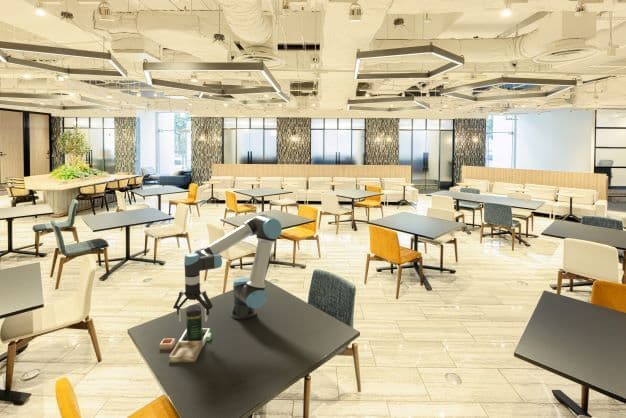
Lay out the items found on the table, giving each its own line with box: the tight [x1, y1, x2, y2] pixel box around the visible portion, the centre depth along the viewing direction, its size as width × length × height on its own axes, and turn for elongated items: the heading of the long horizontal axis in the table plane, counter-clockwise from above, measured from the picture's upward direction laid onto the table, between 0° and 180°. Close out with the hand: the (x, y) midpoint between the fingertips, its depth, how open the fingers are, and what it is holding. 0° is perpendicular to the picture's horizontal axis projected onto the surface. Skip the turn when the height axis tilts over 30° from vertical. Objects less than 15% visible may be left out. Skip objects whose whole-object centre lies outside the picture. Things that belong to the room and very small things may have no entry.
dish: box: [159, 337, 176, 351], centre depth 193 cm, size 6×6×3 cm
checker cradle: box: [177, 327, 212, 347], centre depth 201 cm, size 15×15×2 cm
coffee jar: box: [185, 304, 203, 341], centre depth 200 cm, size 10×8×19 cm
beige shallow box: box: [168, 340, 204, 363], centre depth 186 cm, size 13×14×3 cm
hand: (193, 320), depth 199 cm, fingers open, 13 cm apart
